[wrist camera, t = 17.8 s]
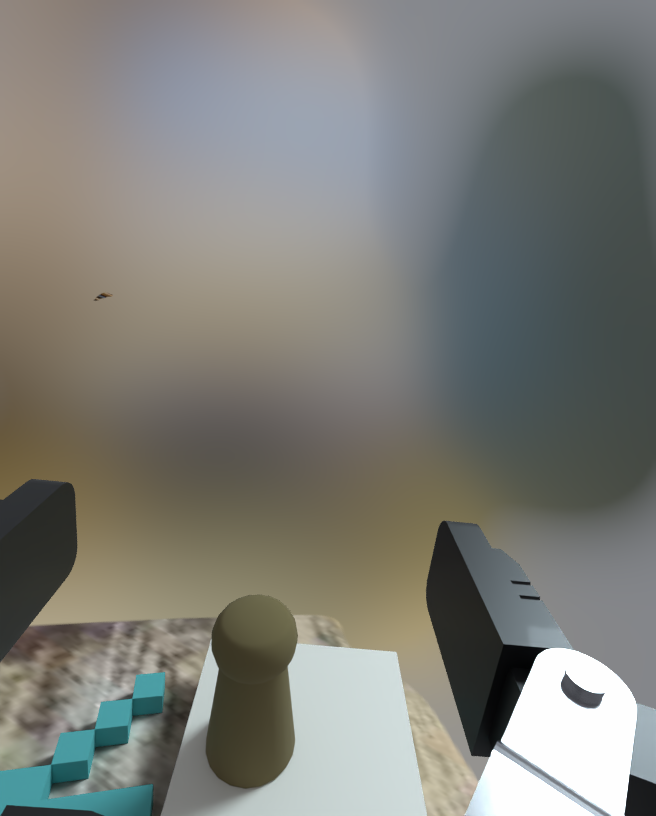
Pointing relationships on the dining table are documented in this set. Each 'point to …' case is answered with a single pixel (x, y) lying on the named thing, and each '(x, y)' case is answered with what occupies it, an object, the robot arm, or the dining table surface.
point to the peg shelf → (315, 744)
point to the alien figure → (89, 760)
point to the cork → (252, 692)
